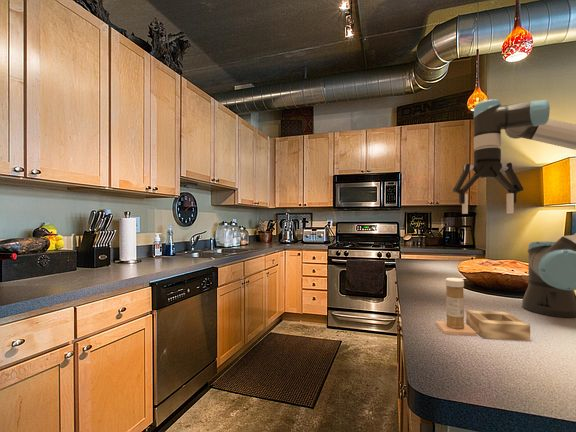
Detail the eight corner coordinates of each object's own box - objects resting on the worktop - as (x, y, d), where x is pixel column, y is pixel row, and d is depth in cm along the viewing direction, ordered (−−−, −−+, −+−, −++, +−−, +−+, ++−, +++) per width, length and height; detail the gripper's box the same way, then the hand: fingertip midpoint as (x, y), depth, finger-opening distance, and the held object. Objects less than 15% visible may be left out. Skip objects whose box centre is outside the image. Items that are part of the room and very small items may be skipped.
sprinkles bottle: (454, 322, 90) (454, 276, 90) (468, 328, 85) (467, 279, 85) (442, 324, 88) (441, 278, 88) (455, 330, 84) (455, 281, 84)
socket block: (507, 325, 89) (507, 312, 89) (530, 340, 79) (530, 325, 79) (466, 323, 91) (466, 310, 91) (483, 338, 80) (483, 322, 80)
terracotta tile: (464, 325, 90) (464, 322, 90) (476, 335, 82) (476, 332, 82) (435, 323, 91) (435, 321, 91) (444, 333, 83) (444, 331, 83)
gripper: (522, 150, 103) (522, 213, 103) (442, 152, 107) (443, 213, 107) (536, 145, 96) (536, 213, 96) (450, 148, 100) (450, 213, 100)
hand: (487, 213), depth 101 cm, fingers open, 13 cm apart
